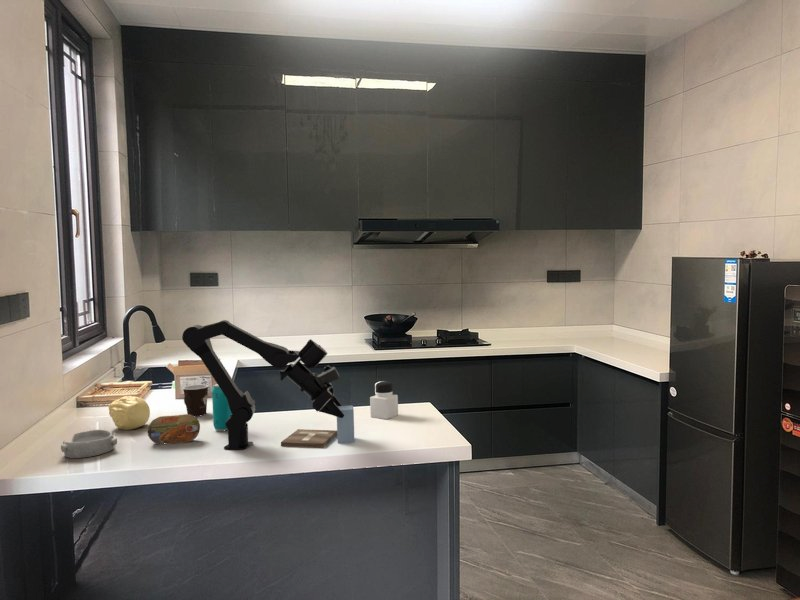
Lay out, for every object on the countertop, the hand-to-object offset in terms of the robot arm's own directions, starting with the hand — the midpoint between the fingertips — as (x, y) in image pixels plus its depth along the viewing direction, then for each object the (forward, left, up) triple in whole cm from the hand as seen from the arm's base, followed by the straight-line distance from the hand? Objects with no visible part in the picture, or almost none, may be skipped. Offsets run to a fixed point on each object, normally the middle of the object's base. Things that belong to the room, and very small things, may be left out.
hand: (342, 413), depth 185 cm
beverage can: (+7, +43, -9) cm, 45 cm away
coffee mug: (+24, +64, -9) cm, 69 cm away
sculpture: (+6, +76, -9) cm, 77 cm away
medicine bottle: (+30, -6, -9) cm, 32 cm away
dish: (-20, +71, -9) cm, 75 cm away
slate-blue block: (0, -1, -8) cm, 8 cm away
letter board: (-1, +10, -8) cm, 13 cm away
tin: (-8, +51, -9) cm, 53 cm away
